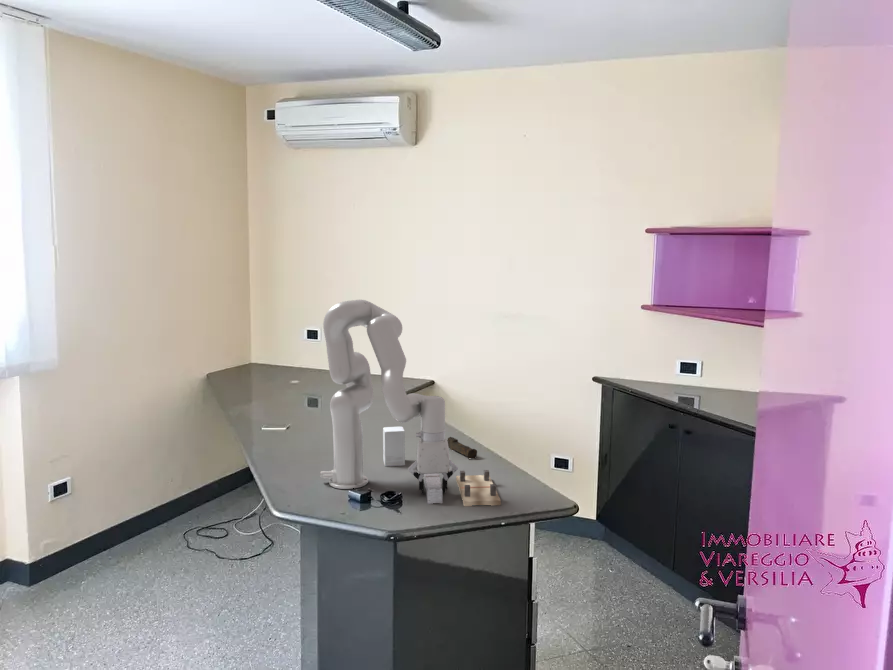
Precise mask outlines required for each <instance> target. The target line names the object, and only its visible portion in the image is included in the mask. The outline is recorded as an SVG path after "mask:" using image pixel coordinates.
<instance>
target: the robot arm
mask: <svg viewBox="0 0 893 670" xmlns="http://www.w3.org/2000/svg"><path fill="white" fill-rule="evenodd" d="M322 325H323V326H322V327H323V333H324V338H325V344H326V345H325V346H326V354H327V363H328V368H329V369H328V370H329V375H330V378H331V380H332V382H333V383H335V384H337V385H345V386H346V387H344V388H341V389H339V390H337V391H336V392H335V393H334V394H333V395H332V397H331V399H330V401H329V402H330V403H329V410H330V416H331V421H332V422H331V423H332V440H333V441H332V442H333V445H332V446H333V447H332V448H333V468H332V469H331V470H328V471H327V470H321V471H320V474H319V477H320V478H323V479H324V480H325V479H329V481H328V482H329V483H328V484H329V486H330V487H332V488H335V489H341V490H351V489H352V490H353V488H354V489H358V488H361V487H364V486H366V485H367V484H368V483H369V478H368V477H367V476H366V475H364V450H363V449H364V441H363V439H364V438H363V437H364V435H363V432H364V431H363V425H362V420H361V417H360V414H361V413H363V412H365V411H367V410H369V408H370V407H371V406H372V405H373V401H374V389H373V382H372V374H371V368H370V367H371V366H370V363H369V361H368V359H367V358H366V356H365V355H363V354H362V353H360V352H359V351H358V352H357V351H354V349H355V348H354V342H353V338H352V336H351V333H350V332H349V330H350V329H351V328H353V327H359V326H361V327H364V328H365V329H366V333H367V337H368V339H369V342H370V344H371V347H372V351H373V352H374V354H375V357H376V360H377V362H378V364H379V367H380V373H381V374H380V379H381V380H380V382H381V390H382V391H381V392H382V395H383V398H384V399H383V400H384V401H385V405H386V407H387V410H388V411H389V413H390V415H391V417H392V418H393V419H394V420H395V421H397V422H398V423H401V424H403V423H408V422H409V421H410V422H411V421H412V420H414V419H416V418H418V417H420V431H419V432H416V434H415V436H416V438H419V439H418V443H417V451H416V460H415V461H414V462H413V463H411V464H410V466H408V468H407V469H408V472H409V473H411V475H413V476H414V478H416V479H417V480H418V491H420V492H421V495H423V494H425V493H424V492H425V479H424V478H425V474H434V473H439V474H441V475H442V480H441V486H442V494H446V490H448V481H449V479H450V478H451V477H452V476H453V475H454V473H456V472H457V470H458V468H459V467H458V466H457V465H456V464H455V463H454V462H453V461H452V460H451V459H450V449H449V447H448V441H447V440H448V439H446V402H445V401H446V400H445V399H444V398H443V397H441V396H439V395H437V396H436V395H423V394H420V393H415V392H412V393H411V392H410V393H407V392H406V390H405V386H404V385H405V384H404V381H403V380H404V378H403V377H404V372H405V368H406V364H407V357H406V356H405V353H404V350H403V347H402V345H401V342H400V339H399V338H400V336H401V335H402V333H403V325H402V322H401V320H400V319H399V318H398V317H397V316H396V315H395V314H393V313H392V312H389V311H388V310H385V309H383V307H382V308H381V307H380V306H378V305H376V304H375V303H372V302H371V301H368V300H366V299H354V300H353V299H352V300H345V301H341V302H338V303H336V304H334V305H333V306H332V307H330V308H329V309H328V310H327V311H326V313H325V315H324V317H323V323H322ZM450 468H451V469H450ZM415 469H416V470H417V471H416V470H415Z"/></svg>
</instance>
